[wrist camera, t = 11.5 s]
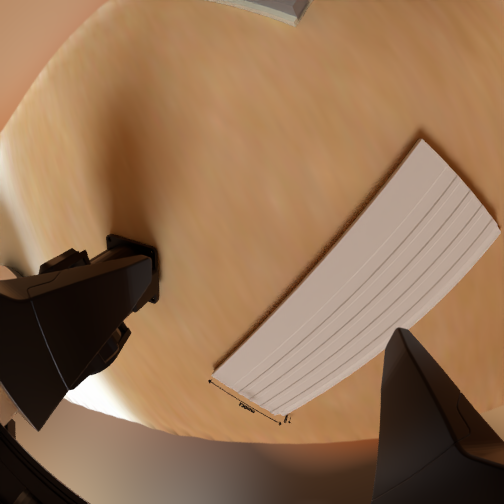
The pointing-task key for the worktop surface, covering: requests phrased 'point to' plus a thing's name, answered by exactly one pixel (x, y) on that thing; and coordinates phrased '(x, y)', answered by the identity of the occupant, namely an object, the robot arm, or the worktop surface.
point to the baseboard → (365, 286)
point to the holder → (273, 8)
